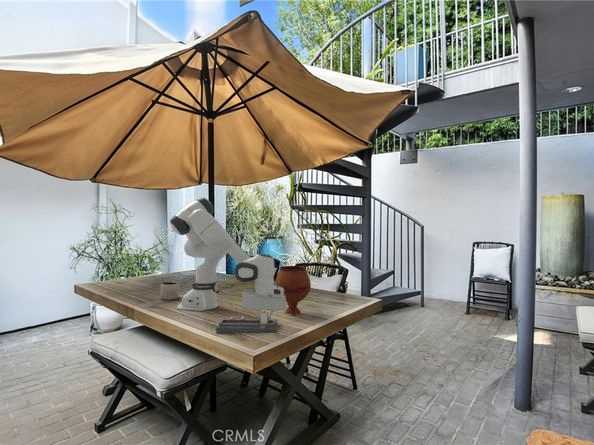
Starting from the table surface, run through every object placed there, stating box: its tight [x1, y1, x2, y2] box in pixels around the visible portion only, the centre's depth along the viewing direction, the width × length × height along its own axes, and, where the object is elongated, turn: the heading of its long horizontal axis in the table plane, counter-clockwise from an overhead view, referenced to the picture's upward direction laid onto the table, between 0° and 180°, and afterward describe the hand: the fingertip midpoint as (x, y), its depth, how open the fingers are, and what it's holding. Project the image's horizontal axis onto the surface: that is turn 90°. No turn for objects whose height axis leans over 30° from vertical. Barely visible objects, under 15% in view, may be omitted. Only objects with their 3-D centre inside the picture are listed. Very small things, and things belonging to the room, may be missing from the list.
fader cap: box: [260, 310, 269, 324], centre depth 154 cm, size 3×4×5 cm
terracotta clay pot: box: [274, 265, 311, 316], centre depth 181 cm, size 19×19×25 cm
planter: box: [160, 281, 180, 301], centre depth 213 cm, size 11×11×10 cm
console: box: [215, 316, 278, 334], centre depth 154 cm, size 26×13×4 cm, turn 90°
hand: (264, 319), depth 154 cm, fingers closed on fader cap, 3 cm apart
